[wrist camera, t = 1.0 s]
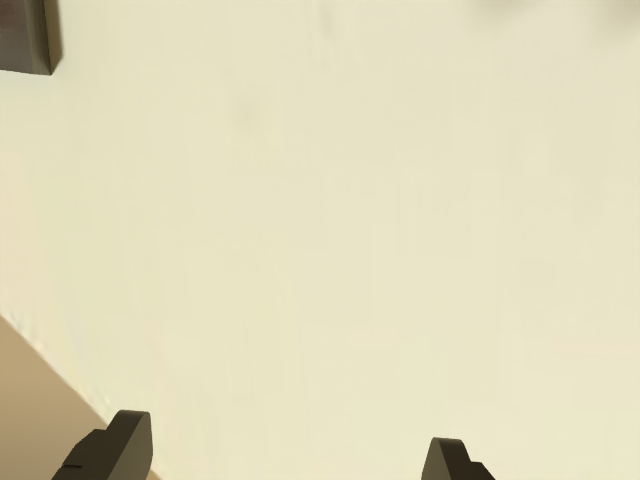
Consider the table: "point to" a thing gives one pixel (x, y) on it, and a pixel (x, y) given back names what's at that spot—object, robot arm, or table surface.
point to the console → (23, 37)
